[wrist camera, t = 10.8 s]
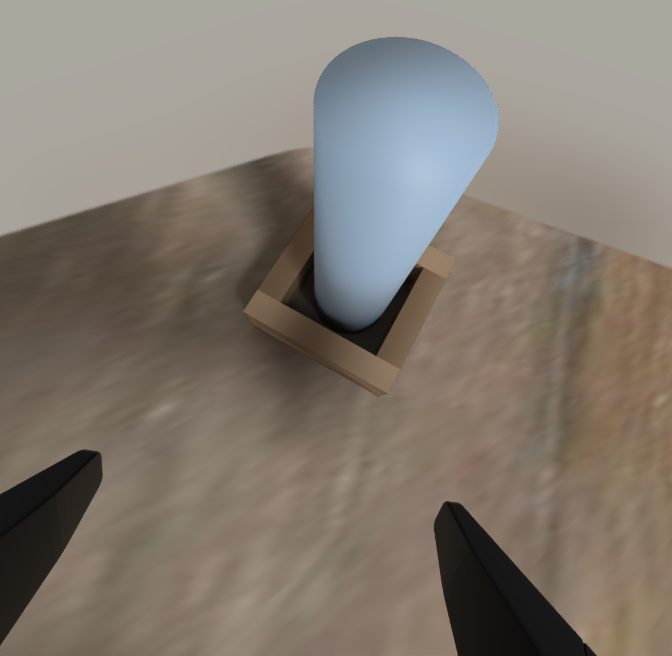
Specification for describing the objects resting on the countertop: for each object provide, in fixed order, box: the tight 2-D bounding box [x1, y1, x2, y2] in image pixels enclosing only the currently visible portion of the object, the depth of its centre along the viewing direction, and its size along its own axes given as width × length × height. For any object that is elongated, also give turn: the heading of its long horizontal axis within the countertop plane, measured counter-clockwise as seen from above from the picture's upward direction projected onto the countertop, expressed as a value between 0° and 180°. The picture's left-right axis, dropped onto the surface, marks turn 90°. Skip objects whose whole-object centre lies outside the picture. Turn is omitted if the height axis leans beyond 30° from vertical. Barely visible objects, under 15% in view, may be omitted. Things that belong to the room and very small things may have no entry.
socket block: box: [243, 207, 456, 396], centre depth 18 cm, size 8×8×2 cm
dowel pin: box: [314, 37, 499, 334], centre depth 13 cm, size 4×4×12 cm
